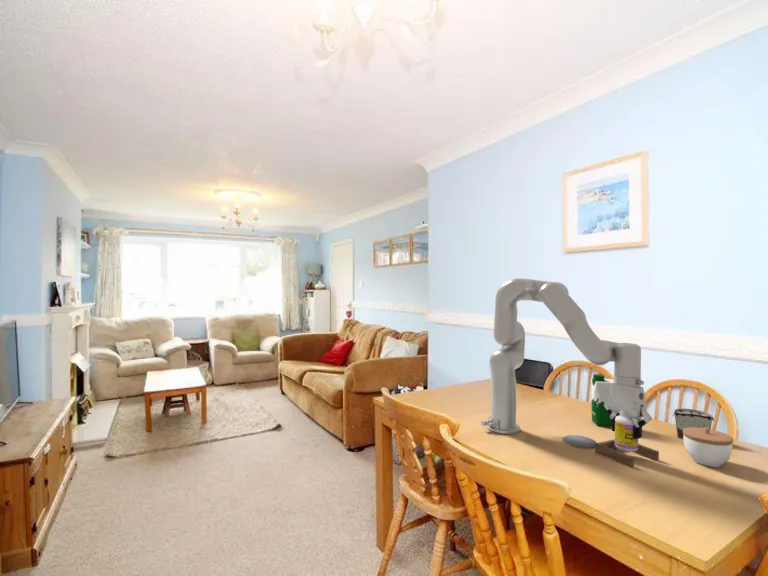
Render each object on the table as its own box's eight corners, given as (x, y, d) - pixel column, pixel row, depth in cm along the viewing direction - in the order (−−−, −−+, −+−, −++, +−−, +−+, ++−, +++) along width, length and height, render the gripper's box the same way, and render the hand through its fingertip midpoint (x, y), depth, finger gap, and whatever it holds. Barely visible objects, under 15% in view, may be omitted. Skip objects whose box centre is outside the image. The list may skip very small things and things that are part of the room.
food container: (708, 437, 151) (708, 410, 151) (714, 442, 145) (714, 415, 145) (669, 432, 156) (669, 406, 156) (672, 437, 150) (673, 410, 150)
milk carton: (589, 419, 170) (589, 372, 170) (612, 421, 168) (612, 373, 168) (595, 426, 161) (595, 377, 161) (620, 428, 160) (620, 378, 159)
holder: (631, 467, 125) (631, 458, 125) (594, 452, 136) (594, 443, 136) (658, 460, 130) (658, 451, 130) (621, 446, 142) (621, 437, 142)
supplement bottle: (623, 452, 130) (623, 413, 129) (610, 444, 136) (610, 406, 136) (642, 452, 130) (643, 412, 130) (628, 444, 137) (629, 406, 137)
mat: (581, 450, 138) (581, 448, 138) (556, 439, 148) (556, 437, 148) (604, 445, 142) (604, 443, 142) (577, 435, 152) (577, 433, 152)
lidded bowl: (736, 474, 121) (737, 438, 121) (684, 464, 127) (684, 430, 127) (728, 459, 131) (728, 425, 131) (680, 451, 138) (681, 419, 138)
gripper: (661, 385, 127) (660, 442, 127) (610, 374, 142) (610, 424, 143) (646, 388, 124) (645, 445, 124) (596, 376, 139) (595, 427, 139)
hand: (626, 434), depth 133 cm, fingers closed on supplement bottle, 6 cm apart
